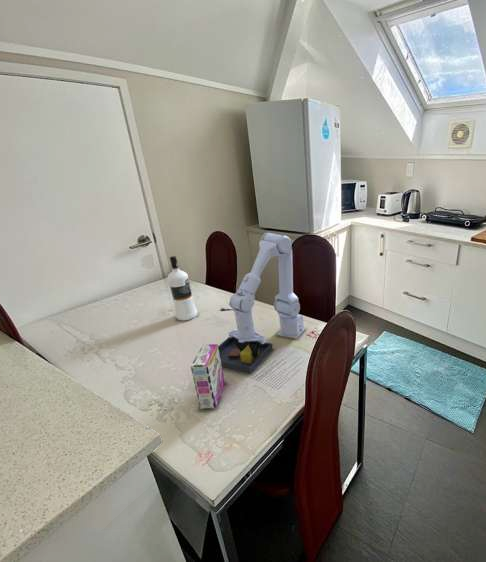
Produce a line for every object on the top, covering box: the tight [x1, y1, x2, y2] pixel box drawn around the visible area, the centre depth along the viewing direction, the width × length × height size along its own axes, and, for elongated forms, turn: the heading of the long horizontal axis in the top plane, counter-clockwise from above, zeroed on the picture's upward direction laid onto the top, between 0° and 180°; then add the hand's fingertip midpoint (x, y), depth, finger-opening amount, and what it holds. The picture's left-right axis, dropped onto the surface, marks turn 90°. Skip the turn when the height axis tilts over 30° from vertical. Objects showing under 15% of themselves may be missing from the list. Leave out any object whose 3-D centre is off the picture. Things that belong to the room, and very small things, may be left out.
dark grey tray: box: [218, 336, 273, 375], centre depth 118 cm, size 19×15×3 cm
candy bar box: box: [190, 343, 226, 410], centre depth 97 cm, size 11×5×16 cm, turn 5°
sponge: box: [240, 346, 259, 364], centre depth 116 cm, size 4×6×4 cm, turn 162°
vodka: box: [166, 255, 198, 322], centre depth 142 cm, size 9×9×30 cm
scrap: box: [228, 349, 241, 358], centre depth 119 cm, size 4×4×1 cm
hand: (250, 355), depth 117 cm, fingers closed on sponge, 4 cm apart
